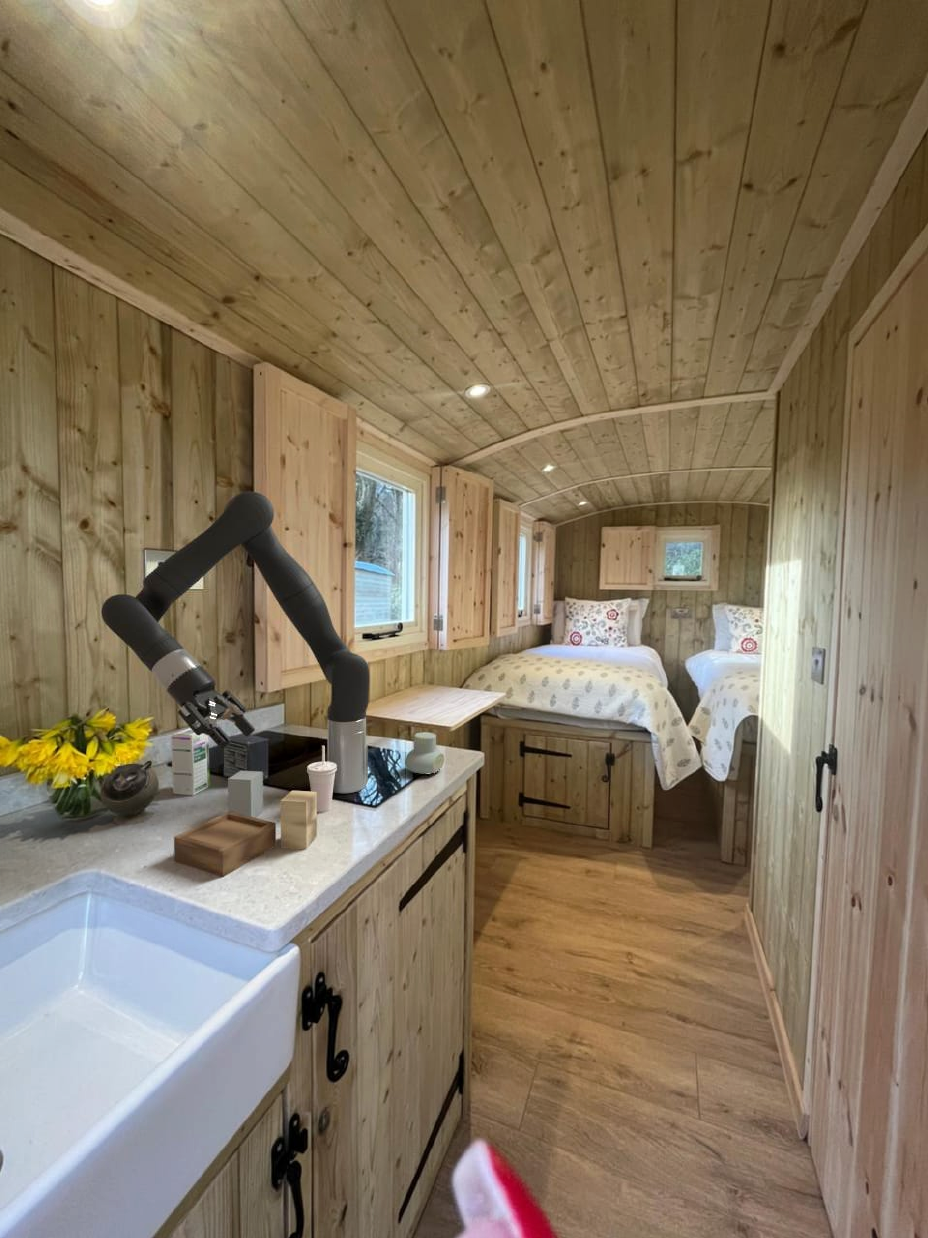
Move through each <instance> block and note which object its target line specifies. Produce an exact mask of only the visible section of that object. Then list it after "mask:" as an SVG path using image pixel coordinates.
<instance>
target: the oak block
mask: <svg viewBox="0 0 928 1238" xmlns="http://www.w3.org/2000/svg"><path fill="white" fill-rule="evenodd" d="M317 813H318V812H317V792H311V790H310V791H309V790H308V791H306V790H305V791H303V790H291V791H290V792H289V793H288V794H286V795H285V796H284V797H283V798H282V799H281V800H280V848H281V849H282V848H283V849H295V850H296V849H299V850H308V848H310V846H311V845H312V843H314V841H315V840H316V838H317V837H318V818H317V817H318V816H317V815H318V814H317Z"/></svg>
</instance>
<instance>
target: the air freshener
mask: <svg viewBox="0 0 928 1238" xmlns="http://www.w3.org/2000/svg"><path fill="white" fill-rule="evenodd" d="M436 738H437V735H436V733H433V732H427V731H423V732H417V733H415V734H414V735H413V749H412V750H410V751H409V752H408V753H407V754H406V756H405V758H404V766H405V768H406V769H407V770H409V772H411V773H413V772H414V773H413V774H415V773H420V774H426V773H434V772H436V773H438V772H439V771H440V770H441V769H442V768H443V766H444V762H445V755H444V753H443V752H442V751H440V750H439V749H437V739H436ZM440 768H441V769H440ZM439 769H440V770H439ZM438 770H439V771H438ZM437 771H438V772H437ZM434 774H435V773H434Z"/></svg>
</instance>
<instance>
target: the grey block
mask: <svg viewBox="0 0 928 1238" xmlns="http://www.w3.org/2000/svg"><path fill="white" fill-rule="evenodd" d="M263 781H264V780H263V772H259V771H239V772H238V773H236V774H235V775H233V776H232V777H230V778H228V779H227V798H228V799H227V801H228V802H227V806H228V807H227V808H228V811H227V812H229V811H230V812H234V813H238V814H242V815H246V816H250V817H254V818H259V816H260V815H262V814H263V813H264V783H263Z"/></svg>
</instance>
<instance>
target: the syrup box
mask: <svg viewBox="0 0 928 1238" xmlns="http://www.w3.org/2000/svg"><path fill="white" fill-rule="evenodd" d="M170 735H171V736H170V737H171V738H170V740H171V766H172V767H171V768H172V791H173V794H174V795H181V796H196V795H197V794H199V793H201V792H202V791H204V790H206V789H209V788H210V787H211V781H210V780H211V779H210V776H211V775H210V774H211V773H210V752H209V751H210V750H209V747H210V746H209V735H205V734H201V735H196V734H195V733H194V731H193V730H192V729H191V728H190V727H189V728H186V729H184V730H181V731H178V732H175V733H172V734H170Z"/></svg>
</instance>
